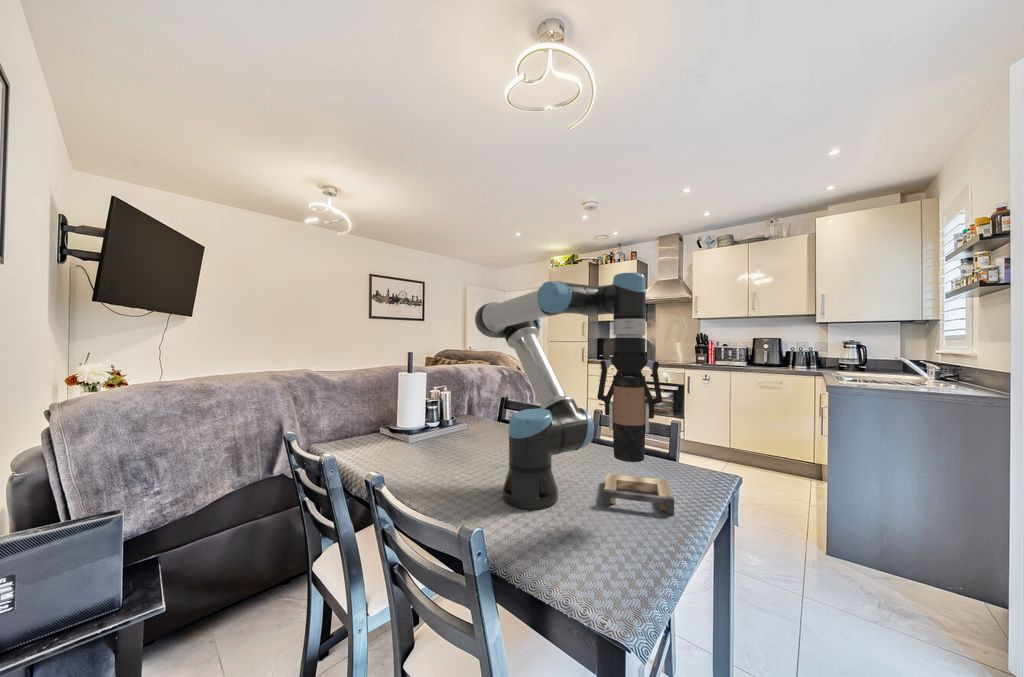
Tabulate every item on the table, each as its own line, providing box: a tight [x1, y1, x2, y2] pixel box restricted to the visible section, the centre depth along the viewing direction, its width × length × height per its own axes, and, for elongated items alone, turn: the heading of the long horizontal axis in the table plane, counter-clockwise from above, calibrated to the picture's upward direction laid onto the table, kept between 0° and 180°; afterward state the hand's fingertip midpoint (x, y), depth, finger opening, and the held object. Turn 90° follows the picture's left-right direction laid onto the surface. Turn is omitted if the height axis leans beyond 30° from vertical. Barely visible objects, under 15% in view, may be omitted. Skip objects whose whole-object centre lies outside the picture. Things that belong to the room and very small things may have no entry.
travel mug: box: [612, 374, 646, 463], centre depth 91 cm, size 8×8×20 cm
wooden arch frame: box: [602, 473, 675, 516], centre depth 102 cm, size 17×17×4 cm
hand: (629, 430), depth 91 cm, fingers closed on travel mug, 8 cm apart
